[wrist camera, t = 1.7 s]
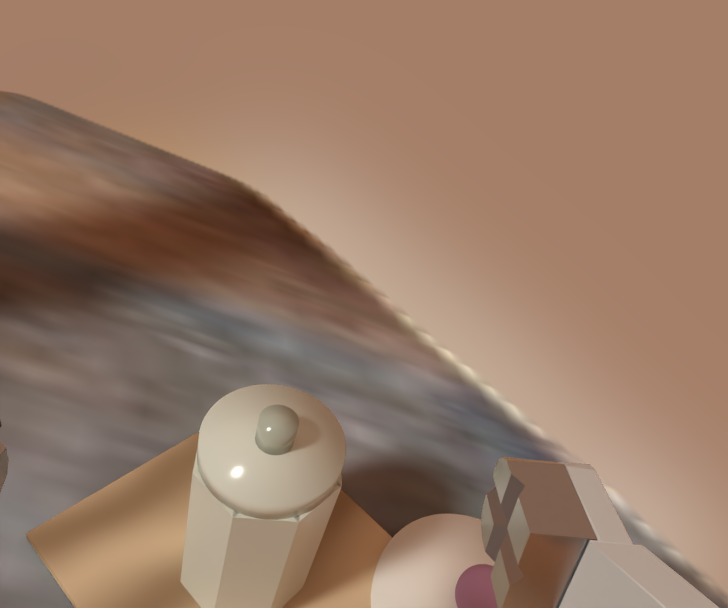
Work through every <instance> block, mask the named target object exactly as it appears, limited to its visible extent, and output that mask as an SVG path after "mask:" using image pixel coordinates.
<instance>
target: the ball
mask: <svg viewBox="0 0 728 608" xmlns="http://www.w3.org/2000/svg"><path fill="white" fill-rule="evenodd" d="M493 567H494V566H491V565H488V564H477V565H474V566H471V567H469V568H468V569H466V570H465V571H464V572H463V573H462V574H461V576H460V577H459V579H458V581H457V584H456V588H455V600H456V604H457V607H458V608H498V607H497V602H496V598H495V594H494V589H493V585H492V581H491V573H492V570H493Z"/></svg>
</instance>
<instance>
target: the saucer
mask: <svg viewBox="0 0 728 608" xmlns="http://www.w3.org/2000/svg"><path fill="white" fill-rule="evenodd" d="M477 564H488V565H491V566H494V564H495V562H494V561H493V560H492V559H491V558H490V557H489V555H488V554H487V553H486V552H485V549H484V545H483V540H482V530H481V520H480V519H477V518H474V517H470V516H466V515H459V514H435V515H430V516H426V517H422V518H420V519H418V520H415V521H413V522H411V523H410V524H408V525H406V526H405V527H403V528H402V529H401V530H400V531H399V532H398V533H396V534H395V535H394V537H393V538H392V539H391V540H390V541H389V543H388V544H387V546H386V547H385V549H384V551H383V552H382V554H381V556H380V558H379V561H378V563H377V566H376V568H375V572H374V576H373V580H372V588H371V608H458V607H457V604H456V600H455V588H456V584H457V581H458V579H459V577H460V576H461V574H462V573H463V572H464V571H465V570H466V569H468V568H469V567H471V566H474V565H477Z"/></svg>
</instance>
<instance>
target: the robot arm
mask: <svg viewBox="0 0 728 608" xmlns="http://www.w3.org/2000/svg"><path fill="white" fill-rule="evenodd" d="M1 426H2V425H1V421H0V427H1ZM7 471H8V455H7V449H6V447H5V446H4V445H3V444H2V443H1V442H0V492H1V489H2V487H3V484H4V481H5V479H6V476H7ZM493 477H494V481H495V485H496V487H495V488H494V489H493V490H491V491H490V492H488V493H487V494H486V497H485V501H484V505H483V508H482V520H481V530H482V540H483V545H484V549H485V552H486V553H487V554H488V555H489V557H490V558H491V559H492V560H493V561H494V562H495V564H494V567H493V570H492V573H491V581H492V585H493V589H494V594H495V598H496V602H497V607H498V608H719V607H718V606H717V605H715V604H714V603H713V602H712V601H710V600H709V599H708V598H707V597H706V596H704V595H703V594H702V593H701V592H699V591H698V590H697V589H696V588H694V587H693V586H692V585H691V584H690V583H688V582H687V581H686V580H685V579H683V578H682V577H681V576H680V575H679V574H677V573H676V572H675V571H674V570H672V569H671V568H670V567H669V566H667V565H666V564H665V563H664V562H663V561H661V560H660V559H659V558H658V557H656V556H655V555H654V554H653V553H651V552H650V551H649V550H648V549H647V548H645V547H644V546H643V545H636V544H633V543H632V541H631V539H630V537H629V535H628V533H627V531H626V529H625V527H624V525H623V523H622V521H621V519H620V517H619V515H618V513H617V511H616V509H615V507H614V505H613V504H612V502H611V500H610V498H609V496H608V494H607V492H606V490H605V488H604V486H603V484H602V482H601V480H600V478H599V476H598V474H597V472H596V470H595V469H594V468H593V467H592V466H591V465H589V464H579V463H567V462H559V463H557V462H550V461H539V460H528V459H518V458H507V457H501V458H500V459H499V460H498V462H497V463H496V466H495V469H494V472H493Z"/></svg>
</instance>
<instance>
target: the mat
mask: <svg viewBox="0 0 728 608" xmlns="http://www.w3.org/2000/svg"><path fill="white" fill-rule="evenodd" d="M198 439H199V432H198V433H196V434H194V435H193V436H191V437H189V438H188V439H186V440H184V441H182V442H181V443H179V444H177V445H176V446H174V447H172V448H171V449H169V450H167V451H165V452H164V453H162V454H160V455H159V456H157V457H155V458H154V459H152V460H150V461H148V462H147V463H145V464H143V465H142V466H140V467H138V468H137V469H135V470H133V471H131V472H130V473H128V474H126V475H125V476H123V477H121V478H120V479H118V480H116V481H114V482H113V483H111V484H109V485H108V486H106V487H104V488H102V489H101V490H99V491H97V492H96V493H94V494H92V495H91V496H89V497H87V498H85V499H84V500H82V501H80V502H79V503H77V504H75V505H74V506H72V507H70V508H68V509H67V510H65V511H63V512H62V513H60V514H58V515H57V516H55V517H53V518H51V519H50V520H48V521H46V522H45V523H43V524H41V525H40V526H38V527H36V528H34V529H33V530H31V531H29V532H28V533H26V537H27V539H28V541H29V542H30V544H31V545H32V546H33V548H34V549H35V551H36V552H37V554H38V555H39V557H40V558H41V560H42V561H43V562H44V564H45V565H46V567H47V568H48V570H49V571H50V573H51V574H52V576H53V577H54V578H55V580H56V581H57V583H58V584H59V586H60V587H61V589H62V590H63V591H64V593H65V594H66V596H67V597H68V599H69V600H70V602H71V603H72V605H73V606H74V607H75V608H201V607H200V606H199V604H198V603H197V602H196V601H195V599H194V598H193V597H192V596H191V594H190V593H189V592H188V591H187V589H186V588H185V587H184V586H183V584H182V583H181V582H180V580H181V571H182V562H183V553H184V544H185V535H186V526H187V517H188V508H189V499H190V490H191V481H192V473H193V468H194V463H195V458H196V453H197V447H198ZM391 539H392V537H391V536H390V535H389V534H388V533H387V532H386V531H385V530H384V529H383V528H382V527H381V526H380V525H378V524H377V523H376V522H375V521H374V520H373V519H372V518H371V517H370V516H369V515H368V514H367V513H366V512H365V511H364V510H363V509H362V508H361V507H360V506H359V505H357V504H356V503H355V502H354V501H353V500H352V499H351V498H350V497H349V496H348V495H347V494H346V493H345V492H344V491H343V490H342V489H341V490H340V492H339V495H338V498H337V500H336V503H335V505H334V508H333V511H332V513H331V516H330V518H329V521H328V524H327V526H326V529H325V531H324V534H323V537H322V539H321V542H320V544H319V547H318V550H317V552H316V555H315V557H314V560H313V562H312V565H311V568H310V570H309V573H308V575H307V578H306V581H305V583H304V586H303V588H302V589H301V590H300V591H299V592H298V593H297V594H296V595H295V596H294V597H293V598H292V599H291V600H289V601H288V602H287V603H286V604H285V605H284V606H283V607H282V608H371V588H372V580H373V576H374V572H375V568H376V566H377V563H378V561H379V558H380V556H381V554H382V552H383V551H384V549H385V547H386V546H387V544H388V543H389V541H390V540H391Z"/></svg>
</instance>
